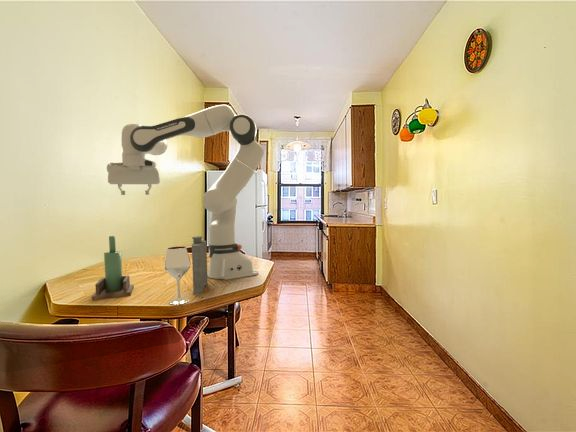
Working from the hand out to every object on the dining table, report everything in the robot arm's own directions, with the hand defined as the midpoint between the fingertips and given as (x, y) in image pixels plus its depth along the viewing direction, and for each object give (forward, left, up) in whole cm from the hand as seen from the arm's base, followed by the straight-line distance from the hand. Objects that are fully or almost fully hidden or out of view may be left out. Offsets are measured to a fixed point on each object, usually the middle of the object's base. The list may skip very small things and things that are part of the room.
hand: (135, 194), depth 135 cm
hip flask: (-23, +28, -37) cm, 52 cm away
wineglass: (-15, +42, -37) cm, 58 cm away
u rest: (+7, +20, -37) cm, 43 cm away
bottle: (+7, +20, -36) cm, 42 cm away
